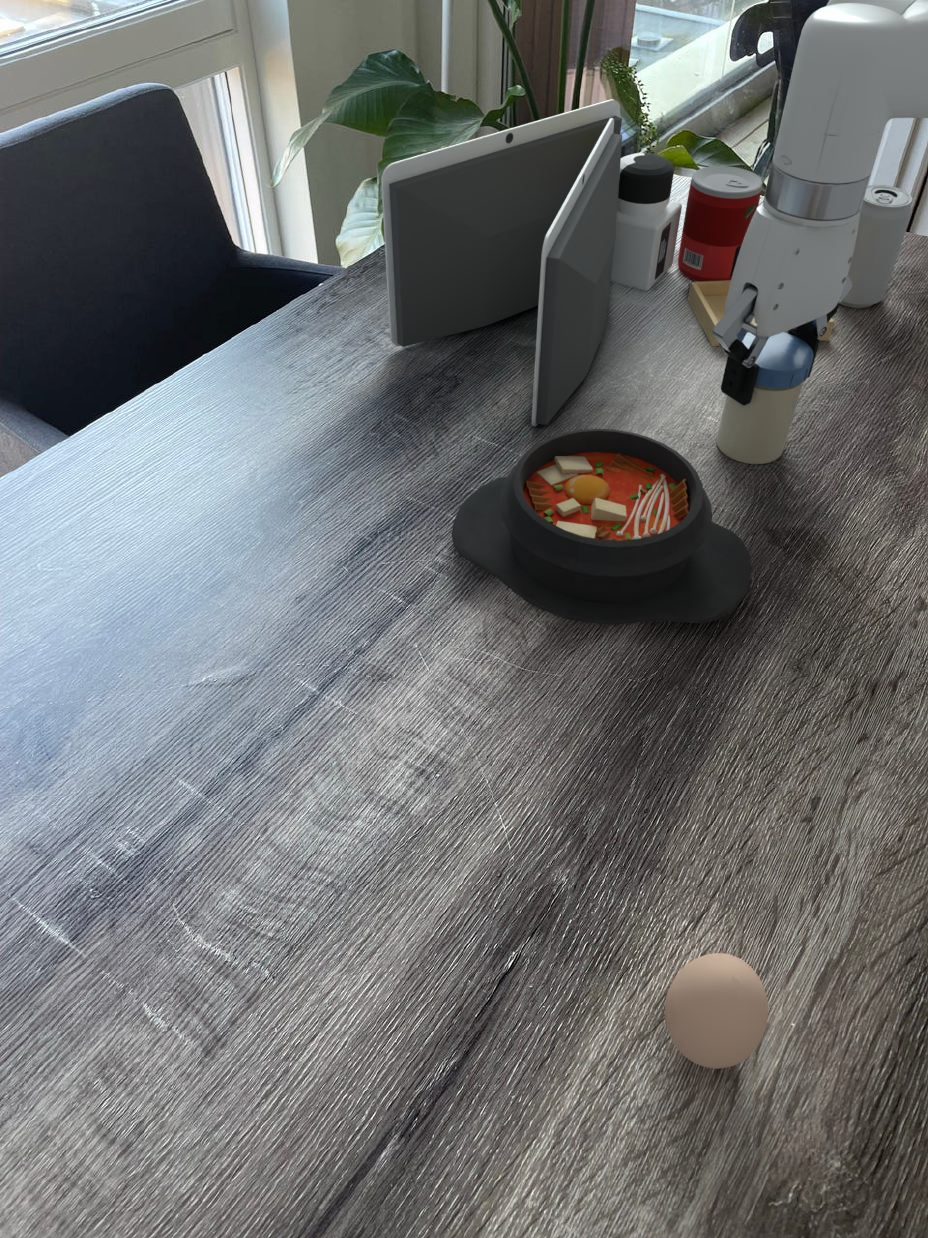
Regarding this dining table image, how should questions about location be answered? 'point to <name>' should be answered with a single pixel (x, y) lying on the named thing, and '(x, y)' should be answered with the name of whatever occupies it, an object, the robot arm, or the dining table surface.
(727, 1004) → the egg
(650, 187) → the container
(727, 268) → the canned food
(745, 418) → the jar
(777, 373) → the lid
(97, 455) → the dining table surface
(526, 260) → the grey hinged panel
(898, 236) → the beverage can
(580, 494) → the casserole
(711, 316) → the tray
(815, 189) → the robot arm
